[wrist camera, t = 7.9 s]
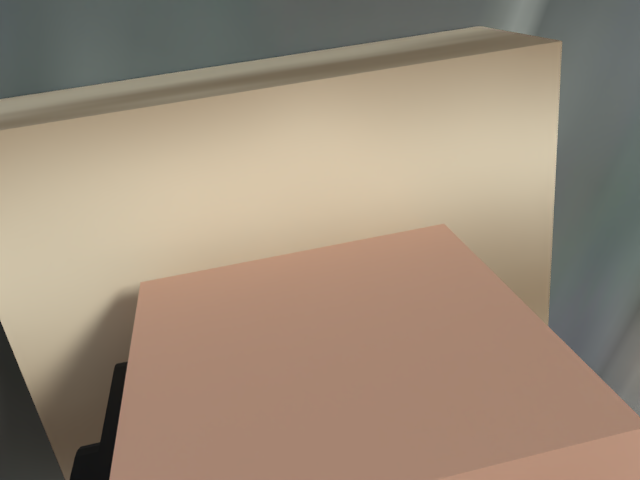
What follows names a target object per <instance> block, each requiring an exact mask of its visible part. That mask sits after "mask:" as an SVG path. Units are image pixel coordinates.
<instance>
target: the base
mask: <svg viewBox="0 0 640 480" xmlns="http://www.w3.org/2000/svg"><path fill="white" fill-rule="evenodd" d="M561 52H562V41H559V40H553V39H548V38H542V37H537V36H531V35H526V34H520V33H515V32H509V31H504V30H498V29H493V28H487V27H482V26H477V27H470V28H464V29H457V30H451V31H444V32H438V33H431V34H424V35H418V36H411V37H405V38H398V39H392V40H385V41H379V42H372V43H365V44H359V45H352V46H346V47H339V48H333V49H326V50H320V51H313V52H307V53H300V54H293V55H287V56H280V57H274V58H267V59H261V60H254V61H248V62H241V63H235V64H228V65H221V66H215V67H208V68H202V69H195V70H189V71H182V72H176V73H169V74H162V75H156V76H149V77H143V78H136V79H130V80H123V81H117V82H110V83H104V84H97V85H90V86H84V87H77V88H71V89H64V90H58V91H51V92H45V93H38V94H31V95H25V96H18V97H12V98H5V99H0V321H1V323H2V326H3V328H4V331H5V333H6V336H7V338H8V341H9V343H10V345H11V348H12V350H13V353H14V355H15V358H16V360H17V363H18V365H19V368H20V370H21V372H22V375H23V377H24V380H25V382H26V385H27V387H28V390H29V392H30V395H31V397H32V399H33V402H34V404H35V407H36V409H37V412H38V414H39V417H40V419H41V422H42V424H43V426H44V429H45V431H46V434H47V436H48V439H49V441H50V444H51V446H52V449H53V451H54V453H55V456H56V458H57V461H58V463H59V466H60V468H61V471H62V473H63V476H64V478H65V480H69V479H70V475H71V471H72V467H73V463H74V458H75V455H76V452H77V450H78V449H79V448H80V447H81V446H85V445H90V444H94V443H98V442H100V440H101V435H102V429H103V424H104V419H105V414H106V408H107V403H108V398H109V393H110V387H111V382H112V377H113V371H114V367H115V365H116V364H117V363H122V362H127V361H128V358H129V352H130V346H131V339H132V333H133V327H134V320H135V314H136V308H137V301H138V295H139V289H140V282H145V281H150V280H155V279H160V278H165V277H171V276H176V275H181V274H186V273H191V272H196V271H202V270H207V269H212V268H217V267H222V266H227V265H233V264H238V263H243V262H248V261H253V260H258V259H264V258H269V257H274V256H279V255H284V254H290V253H295V252H300V251H305V250H310V249H315V248H321V247H326V246H331V245H336V244H341V243H346V242H352V241H357V240H362V239H367V238H372V237H377V236H383V235H388V234H393V233H398V232H403V231H409V230H414V229H419V228H424V227H429V226H434V225H440V224H445V225H446V226H447V227H448V228H449V229H450V230H451V231H452V232H453V233H454V234H455V235H456V236H457V237H458V238H459V239H460V240H461V241H462V242H463V243H464V244H465V245H466V246H467V247H468V248H469V249H470V250H471V251H472V252H473V253H474V254H475V255H476V256H477V257H478V258H479V259H481V260H482V261H483V262H484V263H485V264H486V265H487V266H488V267H489V268H490V269H491V270H492V271H493V272H494V273H495V274H496V275H497V276H498V277H499V278H500V279H501V280H502V281H503V282H504V283H505V284H506V285H507V286H508V287H509V288H510V289H511V290H512V291H513V292H514V293H515V294H516V295H517V296H518V297H519V298H520V299H521V300H522V301H523V302H524V303H525V304H526V305H527V306H528V307H529V308H530V309H531V310H532V311H533V312H534V313H535V314H536V315H537V316H538V317H539V318H540V319H541V320H542V321H543V322H544V323H545V324H546V325H547V326H548V316H549V296H550V276H551V255H552V235H553V215H554V194H555V174H556V154H557V133H558V113H559V93H560V72H561Z"/></svg>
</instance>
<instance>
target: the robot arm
mask: <svg viewBox="0 0 640 480" xmlns="http://www.w3.org/2000/svg"><path fill="white" fill-rule="evenodd" d="M127 365H128V361H127V362H122V363H117V364H116V365H115V367H114V371H113V377H112V382H111V387H110V393H109V398H108V403H107V408H106V414H105V419H104V424H103V429H102V435H101V440H100V442H98V443H94V444H90V445H85V446H81V447H80V448H79V449H78V450H77V452H76V455H75V458H74V463H73V467H72V471H71V475H70V479H69V480H109V478H110V472H111V466H112V459H113V453H114V447H115V440H116V434H117V428H118V421H119V415H120V409H121V403H122V396H123V390H124V384H125V377H126V371H127Z"/></svg>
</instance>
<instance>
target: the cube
mask: <svg viewBox="0 0 640 480" xmlns="http://www.w3.org/2000/svg"><path fill="white" fill-rule="evenodd" d="M109 480H640V417H639V416H638V415H637V414H636V413H635V412H634V411H633V410H632V409H631V408H630V407H629V406H628V405H627V404H626V403H625V402H624V401H623V400H622V399H621V398H620V397H619V396H618V395H617V394H616V393H615V392H614V391H613V390H612V389H611V388H610V387H609V386H608V385H607V384H606V383H605V382H604V381H603V380H602V379H601V378H600V377H599V376H598V375H597V374H596V373H595V372H594V371H593V370H592V369H591V368H590V367H589V366H588V365H587V364H586V363H585V362H584V361H583V360H582V359H581V358H580V357H579V356H578V355H577V354H576V353H575V352H574V351H573V350H572V349H571V348H570V347H569V346H568V345H566V344H565V343H564V342H563V341H562V340H561V339H560V338H559V337H558V336H557V335H556V334H555V333H554V332H553V331H552V330H551V329H550V328H549V327H548V326H547V325H546V324H545V323H544V322H543V321H542V320H541V319H540V318H539V317H538V316H537V315H536V314H535V313H534V312H533V311H532V310H531V309H530V308H529V307H528V306H527V305H526V304H525V303H524V302H523V301H522V300H521V299H520V298H519V297H518V296H517V295H516V294H515V293H514V292H513V291H512V290H511V289H510V288H509V287H508V286H507V285H506V284H505V283H504V282H503V281H502V280H501V279H500V278H499V277H498V276H497V275H496V274H495V273H494V272H493V271H492V270H491V269H490V268H489V267H488V266H487V265H486V264H485V263H484V262H483V261H482V260H481V259H479V258H478V257H477V256H476V255H475V254H474V253H473V252H472V251H471V250H470V249H469V248H468V247H467V246H466V245H465V244H464V243H463V242H462V241H461V240H460V239H459V238H458V237H457V236H456V235H455V234H454V233H453V232H452V231H451V230H450V229H449V228H448V227H447V226H446V225H445V224H440V225H434V226H429V227H424V228H419V229H414V230H409V231H403V232H398V233H393V234H388V235H383V236H377V237H372V238H367V239H362V240H357V241H352V242H346V243H341V244H336V245H331V246H326V247H321V248H315V249H310V250H305V251H300V252H295V253H290V254H284V255H279V256H274V257H269V258H264V259H258V260H253V261H248V262H243V263H238V264H233V265H227V266H222V267H217V268H212V269H207V270H202V271H196V272H191V273H186V274H181V275H176V276H171V277H165V278H160V279H155V280H150V281H145V282H140V289H139V295H138V301H137V308H136V314H135V320H134V327H133V333H132V339H131V346H130V352H129V358H128V365H127V371H126V377H125V384H124V390H123V396H122V403H121V409H120V415H119V421H118V428H117V434H116V440H115V447H114V453H113V459H112V466H111V472H110V478H109Z"/></svg>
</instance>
